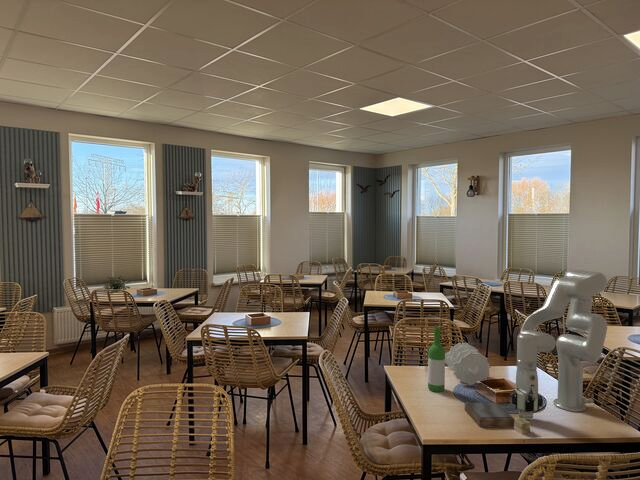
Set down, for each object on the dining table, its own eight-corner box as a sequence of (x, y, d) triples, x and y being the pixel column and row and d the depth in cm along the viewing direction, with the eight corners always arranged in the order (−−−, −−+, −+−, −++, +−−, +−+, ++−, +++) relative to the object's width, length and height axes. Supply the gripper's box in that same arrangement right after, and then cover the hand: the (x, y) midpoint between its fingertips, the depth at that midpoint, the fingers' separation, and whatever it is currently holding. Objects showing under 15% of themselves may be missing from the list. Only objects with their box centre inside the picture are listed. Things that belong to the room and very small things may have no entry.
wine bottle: (444, 387, 219) (445, 326, 218) (444, 393, 212) (445, 330, 211) (427, 386, 221) (428, 325, 220) (427, 391, 214) (428, 329, 213)
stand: (496, 409, 193) (496, 401, 193) (514, 426, 177) (514, 417, 177) (464, 410, 193) (464, 402, 193) (479, 426, 177) (479, 418, 177)
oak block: (522, 428, 176) (522, 418, 176) (530, 433, 172) (530, 422, 172) (513, 429, 175) (514, 419, 175) (521, 434, 171) (521, 424, 171)
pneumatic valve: (542, 422, 181) (543, 392, 181) (511, 419, 183) (512, 390, 183) (538, 417, 186) (539, 388, 186) (508, 414, 189) (509, 386, 188)
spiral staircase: (466, 379, 243) (483, 394, 218) (437, 364, 243) (450, 378, 218) (481, 348, 244) (499, 360, 219) (452, 334, 244) (467, 344, 219)
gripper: (547, 371, 176) (545, 416, 176) (525, 358, 193) (523, 399, 193) (528, 371, 175) (527, 417, 176) (507, 358, 192) (506, 399, 193)
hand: (525, 407), depth 185 cm, fingers closed on pneumatic valve, 5 cm apart
